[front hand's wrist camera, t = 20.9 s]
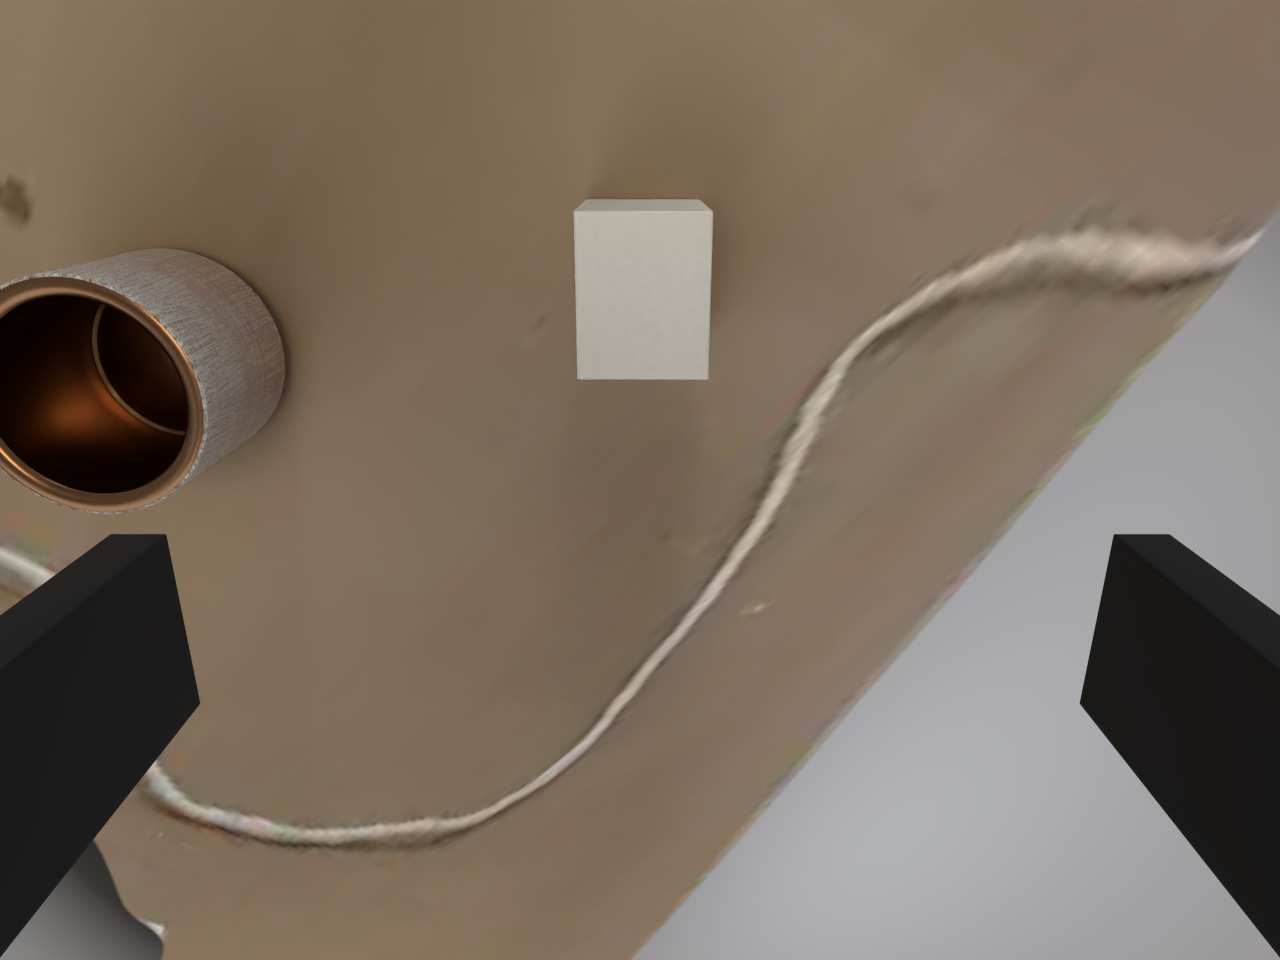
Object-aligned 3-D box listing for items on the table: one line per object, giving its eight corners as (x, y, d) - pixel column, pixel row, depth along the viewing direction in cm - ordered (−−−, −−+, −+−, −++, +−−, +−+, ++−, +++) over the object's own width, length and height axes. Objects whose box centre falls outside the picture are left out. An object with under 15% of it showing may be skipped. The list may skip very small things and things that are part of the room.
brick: (700, 199, 45) (713, 211, 37) (696, 340, 47) (708, 380, 39) (585, 199, 45) (573, 210, 37) (587, 340, 47) (577, 379, 39)
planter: (88, 219, 45) (-50, 238, 36) (304, 279, 46) (222, 312, 37) (75, 419, 49) (-53, 481, 40) (275, 471, 50) (195, 543, 41)
